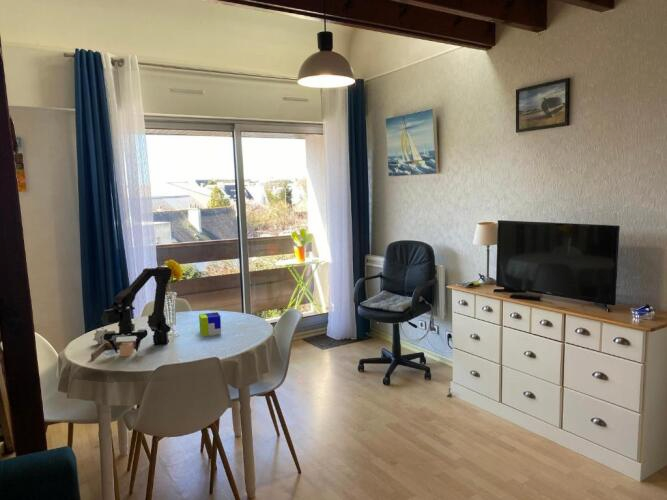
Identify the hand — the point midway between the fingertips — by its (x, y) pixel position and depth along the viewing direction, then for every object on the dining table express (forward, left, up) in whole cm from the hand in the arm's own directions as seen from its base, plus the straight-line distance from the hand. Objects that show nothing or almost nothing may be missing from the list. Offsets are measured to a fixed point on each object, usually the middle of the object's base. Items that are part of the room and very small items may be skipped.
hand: (126, 352), depth 238 cm
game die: (+17, -20, -1) cm, 26 cm away
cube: (0, 0, -1) cm, 1 cm away
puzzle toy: (-36, -30, -1) cm, 47 cm away
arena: (+6, -3, -1) cm, 6 cm away
